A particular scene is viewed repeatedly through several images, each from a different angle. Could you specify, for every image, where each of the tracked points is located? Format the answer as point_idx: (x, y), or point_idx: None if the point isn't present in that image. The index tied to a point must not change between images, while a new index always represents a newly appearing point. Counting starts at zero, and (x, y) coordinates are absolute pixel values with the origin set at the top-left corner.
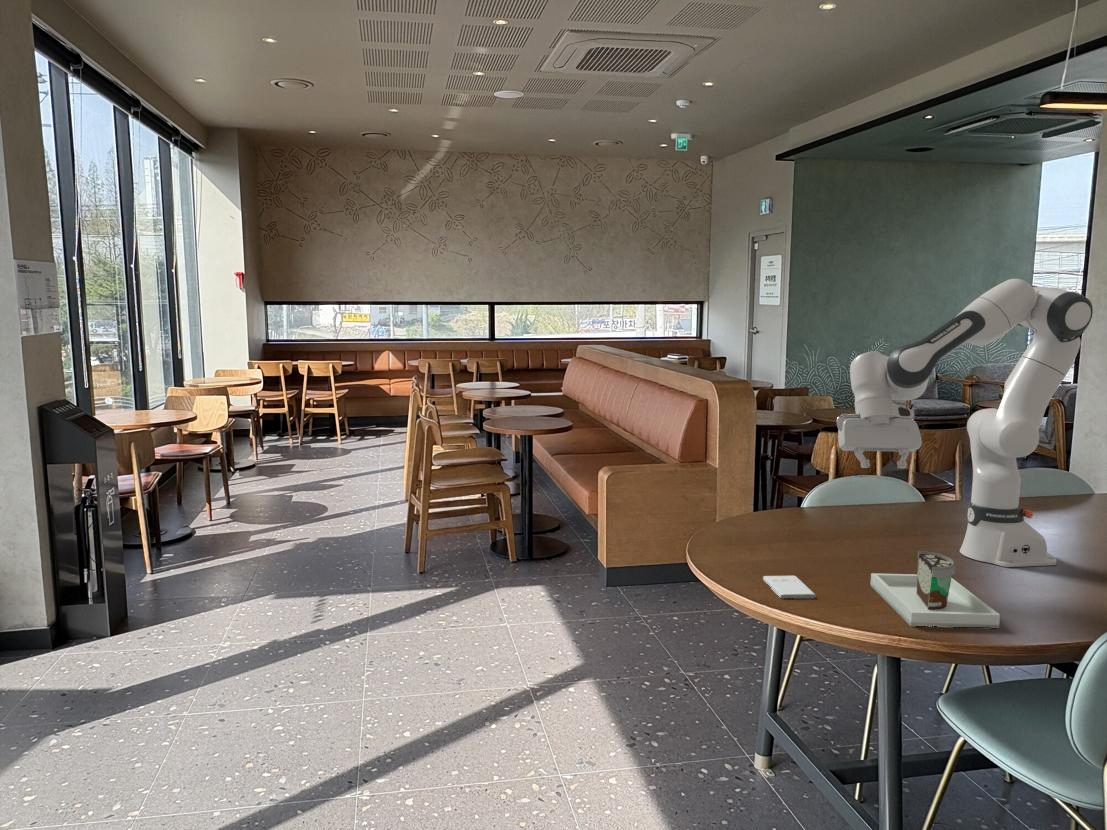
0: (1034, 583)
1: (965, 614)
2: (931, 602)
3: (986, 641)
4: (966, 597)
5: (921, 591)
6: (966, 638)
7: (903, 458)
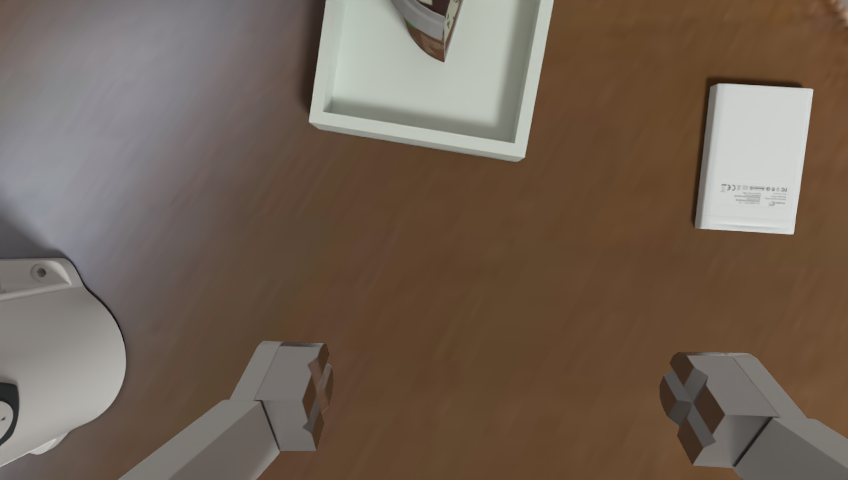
0: (70, 137)
1: None
2: None
3: None
4: None
5: (457, 11)
6: None
7: (245, 422)
